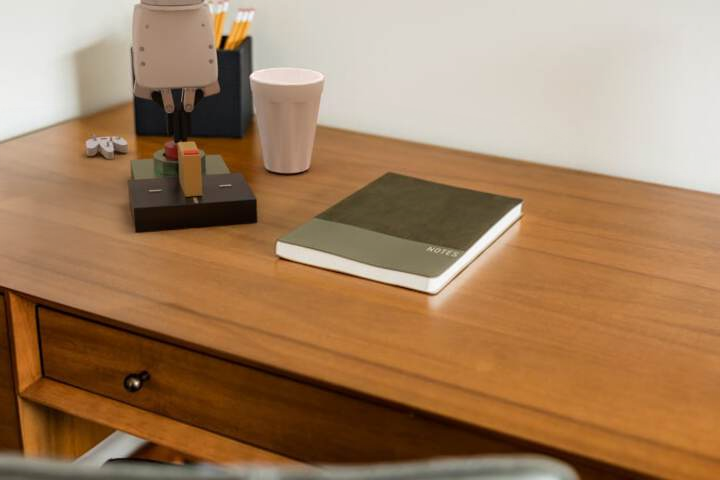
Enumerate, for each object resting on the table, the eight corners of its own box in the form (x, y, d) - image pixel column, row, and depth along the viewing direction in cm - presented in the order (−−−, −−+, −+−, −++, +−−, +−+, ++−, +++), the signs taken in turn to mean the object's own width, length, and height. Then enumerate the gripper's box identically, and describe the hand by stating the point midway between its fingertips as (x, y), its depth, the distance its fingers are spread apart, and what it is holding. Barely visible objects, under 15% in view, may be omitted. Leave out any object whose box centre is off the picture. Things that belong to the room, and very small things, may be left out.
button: (166, 162, 115) (166, 148, 114) (163, 153, 118) (163, 140, 117) (195, 160, 116) (194, 147, 115) (191, 152, 119) (190, 139, 118)
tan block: (179, 181, 109) (177, 140, 107) (196, 180, 110) (194, 139, 108) (185, 197, 105) (183, 153, 102) (202, 195, 105) (200, 152, 103)
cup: (287, 185, 118) (287, 87, 113) (235, 168, 124) (233, 74, 119) (338, 169, 126) (340, 76, 120) (287, 153, 131) (287, 64, 126)
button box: (136, 198, 112) (134, 167, 111) (131, 175, 120) (129, 146, 119) (232, 191, 116) (231, 161, 114) (220, 169, 124) (219, 141, 122)
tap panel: (135, 232, 102) (133, 206, 101) (129, 202, 111) (127, 178, 110) (257, 222, 106) (256, 197, 105) (241, 194, 115) (241, 170, 114)
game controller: (98, 162, 125) (96, 144, 124) (57, 144, 132) (55, 127, 131) (134, 154, 129) (132, 136, 128) (92, 137, 136) (90, 120, 135)
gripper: (227, -12, 114) (232, 128, 121) (106, -10, 110) (118, 135, 117) (238, -3, 108) (242, 144, 115) (109, -1, 103) (122, 152, 111)
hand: (179, 139), depth 116 cm, fingers closed
